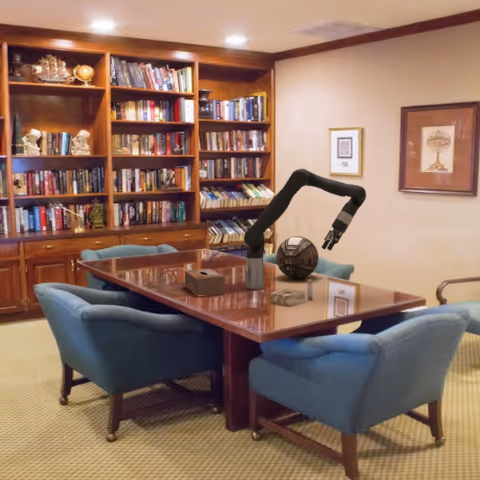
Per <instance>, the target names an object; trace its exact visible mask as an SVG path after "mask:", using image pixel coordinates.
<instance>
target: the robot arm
mask: <svg viewBox="0 0 480 480" xmlns="http://www.w3.org/2000/svg"><path fill="white" fill-rule="evenodd" d="M305 186H307V187H312V188H313V187H314V188H317V189H320V190H322V191H324V192H326V193H328V194H332V195H335V196H338V197H342V198H345V197H348V198H349V200H348V201H347V202H346V203H345V204H344V206H342V208H341V210H340V212H339V213H338V214H337V215H336V217H335V219H334V220H333V223H332V224H331V227H332V228H333V229H332V230H331V229H330V230H328V233H326V235H325V237H324V242H323V244H322V245H321V249H323V250H326V249H327V251H330V252H331V251H332V249H333V248H334V246H335V245H336V244H338V243H339V241H340V240H341V238H342V236H343V234H345V233H346V231H347V230H348V228H349V227H350V224H351V223H352V222H353V219H354V217H355V215H356V214H357V211H358V210H359V209H360V207H361V206H362V205H363V204H364V202H365V200H366V199H367V192H366V191H367V190H366V189H365V188H364V187H363V186H360V185H357V184H352V183H351V184H349V183H345V182H343V181H342V182H341V181H338V180H335V179H331V178H327V177H324V176H320V175H318V174H315V173H314V172H311V171H310V170H308V169H305V168H298V169H296V170H294V171H293V172H292V173H291V175H290V176H289V178H288V179H287V180H286V182H285V184H284V185H283V187H282V188H281V189H280V191H278V193H277V194H276V195H275V196H274V197H273V198H272V200H271V201H270V202H269V203H268V204H267V205H266V207H265V209H264V210H263V211H262V212H261V214H260V215H259V216H258V218H257V220H256V221H255V222H254V223H253V224H252V225H251V226H250V227H249V228H248V229H247V230H246V231H245V233H244V236H243V241H244V243H245V244H246V245H247V246H248V250H247V251H246V270H245V288H247V289H249V290H261V289H264V288H265V284H264V281H265V279H264V252H265V242H266V241H265V232H266V231H267V230H268V229H269V228H270V227H271V226H273V225H274V224H275V223H276V222H277V221H278V220H279V219H280V218H281V217H282V215H283V214H285V212H286V211H287V209H288V208H289V206H290V203H291V202H292V200H293V198H294V197H295V195H296V194H297V193H298V192H299V191H300V190H301V188H303V187H305Z"/></svg>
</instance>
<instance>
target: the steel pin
mask: <svg viewBox="0 0 480 480" xmlns="http://www.w3.org/2000/svg"><path fill="white" fill-rule="evenodd" d="M306 283H307V285H306V286H307V287H306V288H307V293H306V294H307V300H308V301H312V299H314V298H313V297H314V295H313V294H314V292H313V291H314V289H313V287H314V286H313V285H314V284H313V283H314V279H306Z"/></svg>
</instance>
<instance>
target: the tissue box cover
mask: <svg viewBox="0 0 480 480" xmlns="http://www.w3.org/2000/svg"><path fill="white" fill-rule="evenodd" d="M224 280H225V277H224V275H222V274H220V273H219V272H217V271H215V270H214V269H211V268H202V269H201V268H199V269H188V270H187V269H186V270H184V287H185V286H186V287H188V288H189V289H190V290H192V291H193V292H194V293H195V294H197V295H198V296H199V295H214V296H219V295H218V294H223V295H225V281H224ZM195 294H194V295H195Z"/></svg>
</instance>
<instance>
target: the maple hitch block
mask: <svg viewBox="0 0 480 480" xmlns="http://www.w3.org/2000/svg"><path fill="white" fill-rule="evenodd" d="M305 293H306V292H305V291H300V290H295V289H288V288H285V289H281V290H276V291H273V292H270V303H271V304H275V305H278V306H280V305H281V306H285V307H292V306H295V305H300V304H303V303H305V302H306V294H305ZM299 303H300V304H299Z"/></svg>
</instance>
